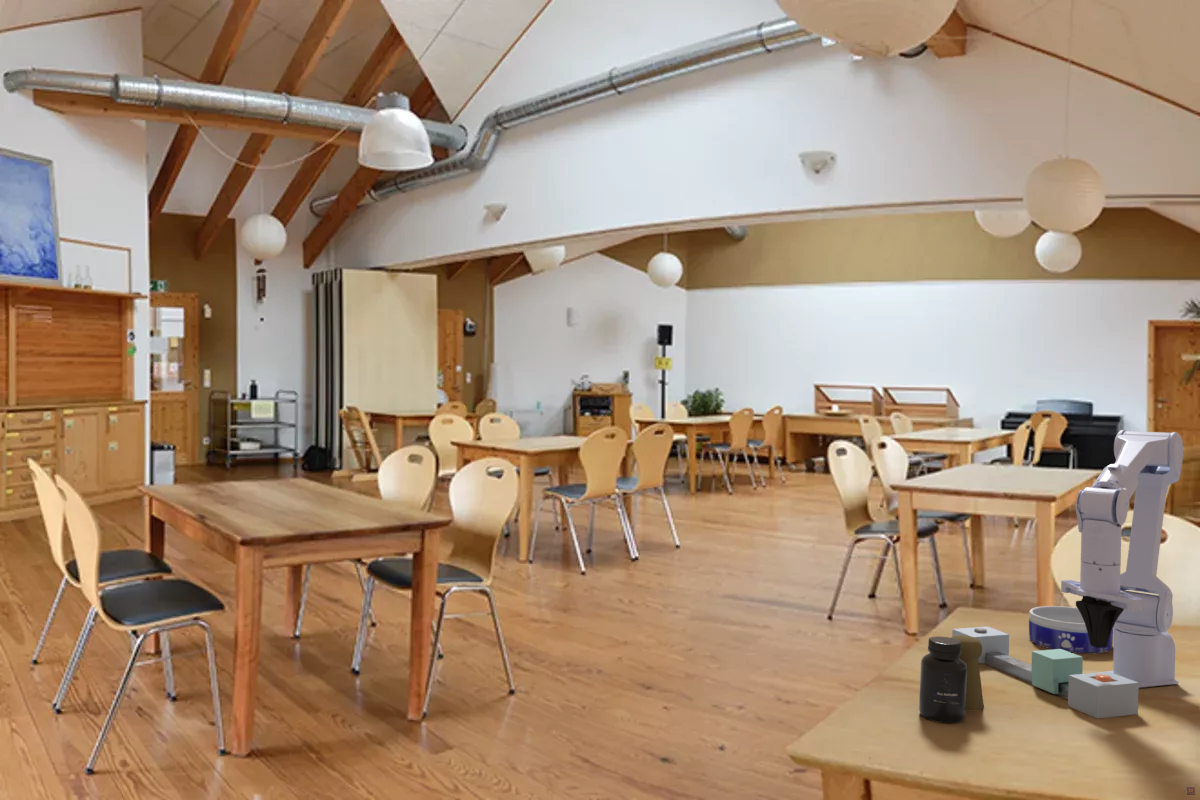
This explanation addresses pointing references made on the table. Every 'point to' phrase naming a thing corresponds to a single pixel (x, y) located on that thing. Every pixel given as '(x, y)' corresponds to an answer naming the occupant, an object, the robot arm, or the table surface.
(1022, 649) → the table surface
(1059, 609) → the dog bowl
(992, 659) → the rail
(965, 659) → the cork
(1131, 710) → the end cabinet
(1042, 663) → the block
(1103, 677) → the orange rounded knob
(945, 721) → the supplement bottle
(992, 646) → the far cabinet
